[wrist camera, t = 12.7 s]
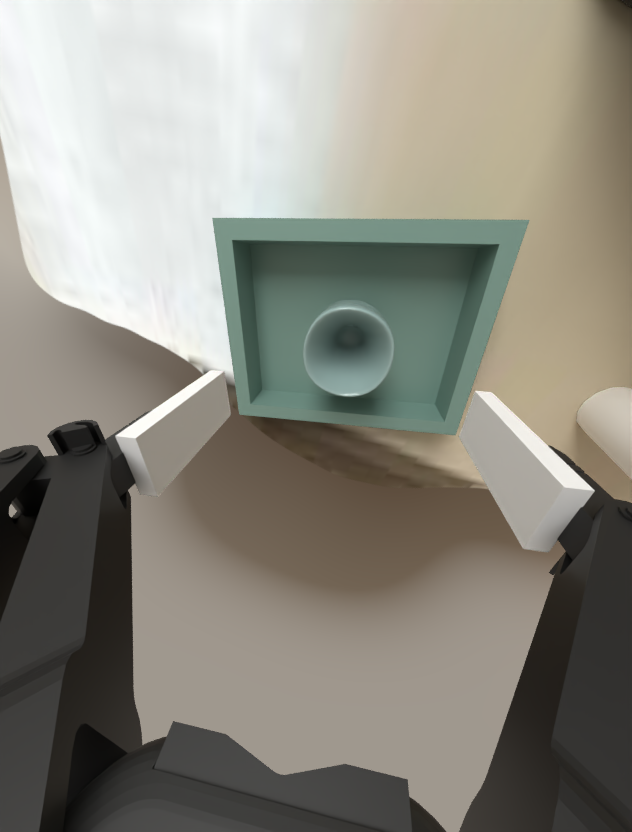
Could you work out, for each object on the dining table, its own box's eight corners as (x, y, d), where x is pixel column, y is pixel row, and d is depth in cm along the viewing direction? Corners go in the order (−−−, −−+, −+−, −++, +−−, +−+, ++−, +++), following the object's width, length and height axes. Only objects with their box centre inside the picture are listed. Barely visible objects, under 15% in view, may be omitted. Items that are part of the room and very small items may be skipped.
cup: (312, 355, 33) (294, 386, 24) (326, 287, 29) (311, 295, 20) (373, 370, 32) (377, 407, 24) (395, 304, 29) (410, 319, 20)
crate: (494, 229, 26) (529, 219, 20) (441, 410, 35) (455, 435, 30) (239, 227, 28) (212, 217, 23) (255, 394, 38) (239, 414, 33)
